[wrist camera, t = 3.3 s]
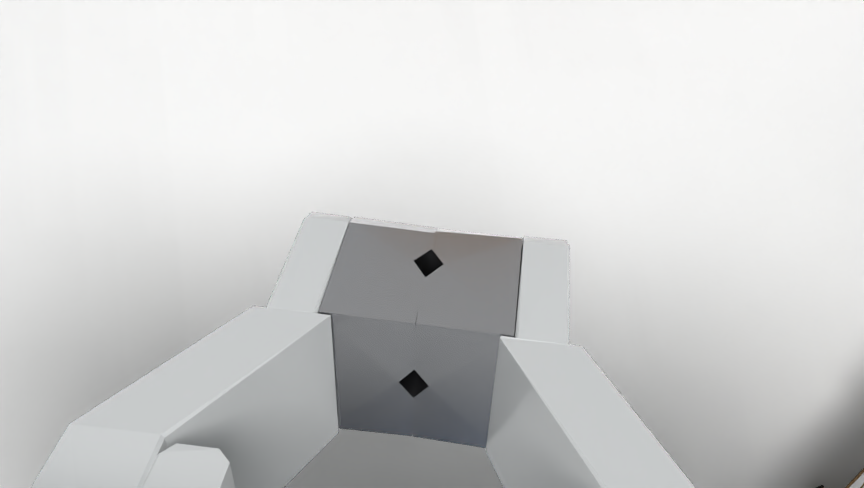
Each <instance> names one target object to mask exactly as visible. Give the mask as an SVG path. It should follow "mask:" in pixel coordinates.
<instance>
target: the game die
mask: <svg viewBox="0 0 864 488" xmlns="http://www.w3.org/2000/svg"><path fill="white" fill-rule="evenodd" d="M816 488H824V486H823V485H821V486H819V487H816ZM845 488H864V468H863V470H862V471H861V472H860V473H859V474H858V475H857V476H856V477H855V478H854V479H853V480H852V481H851V482H850V483H849V484H848V485H847V486H846V487H845Z"/></svg>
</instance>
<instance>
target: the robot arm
mask: <svg viewBox="0 0 864 488" xmlns="http://www.w3.org/2000/svg"><path fill="white" fill-rule="evenodd" d="M569 262H570V246H569V244H568V242H567V240H558V239H546V238H535V237H524V238H523V240H522V237H513V236H503V235H494V234H485V233H476V232H466V231H457V230H448V229H438V228H433V227H426V226H418V225H411V224H404V223H396V222H389V221H381V220H374V219H367V218H359V217H354V218H351V217H348V216H340V215H332V214H324V213H317V212H311V213H310V214H309V215H308V216H307V217H306V218H304V220H303V222H302V224H301V227H300V229H299V231H298V234H297V236H296V238H295V241H294V243H293V245H292V248H291V250H290V252H289V255H288V257H287V260H286V262H285V264H284V267H283V269H282V271H281V274H280V276H279V278H278V281H277V283H276V285H275V288H274V290H273V292H272V295H271V297H270V299H269V302H268V304H267V306H266V307H261V306H252V307H251V308H249V309H247V310H246V311H244V312H243V313H241V314H240V315H238V316H237V317H235V318H233V319H232V320H230V321H229V322H227V323H226V324H224V325H223V326H221V327H219V328H218V329H216V330H215V331H213V332H212V333H210V334H208V335H207V336H205V337H204V338H202V339H201V340H199V341H198V342H196V343H194V344H193V345H191V346H190V347H188V348H187V349H185V350H184V351H182V352H180V353H179V354H177V355H176V356H174V357H173V358H171V359H170V360H168V361H166V362H165V363H163V364H162V365H160V366H159V367H157V368H155V369H154V370H152V371H151V372H149V373H148V374H146V375H145V376H143V377H141V378H140V379H138V380H137V381H135V382H134V383H132V384H131V385H129V386H127V387H126V388H124V389H123V390H121V391H120V392H118V393H116V394H115V395H113V396H112V397H110V398H109V399H107V400H106V401H104V402H102V403H101V404H99V405H98V406H96V407H95V408H93V409H92V410H90V411H88V412H87V413H85V414H84V415H82V416H81V417H79V418H77V419H76V420H74V421H73V422H71V423H70V424H69V425H68V427H67V428H66V430H65V432H64V433H63V435H62V437H61V438H60V440H59V441H58V443H57V445H56V446H55V448H54V450H53V451H52V453H51V455H50V456H49V458H48V460H47V461H46V463H45V465H44V466H43V468H42V470H41V471H40V473H39V475H38V476H37V478H36V480H35V481H34V483H33V485H32V486H31V488H284V487H285V486H286V485H287V484H288V483H289V482H290V481H291V480H292V479H293V478H294V477H295V476H296V475H297V474H298V473H299V472H300V471H301V470H302V469H303V468H304V467H305V466H306V465H307V464H308V463H309V462H310V461H311V460H312V459H313V458H314V457H315V456H316V455H317V454H318V453H319V452H320V451H321V450H322V449H323V448H324V447H325V446H326V445H327V444H328V443H329V442H330V441H331V440H332V439H333V438H334V437H335V436H336V435H337V434H338V433H339V430H338V428H342V429H351V430H360V431H370V432H379V433H388V434H397V435H407V436H412V435H413V436H414V437H421V438H427V439H433V440H439V441H445V442H451V443H458V444H464V445H470V446H476V447H482V448H486V453H487V455H488V457H489V459H490V461H491V463H492V465H493V467H494V469H495V472H496V474H497V476H498V478H499V480H500V482H501V484H502V486H503V488H695V487H694V485H693V484H692V483H691V482H690V480H689V479H688V478H687V477H686V475H685V474H684V473H683V472H682V470H681V469H680V468H679V467H678V465H677V464H676V463H675V462H674V460H673V459H672V458H671V457H670V455H669V454H668V453H667V452H666V450H665V449H664V448H663V447H662V445H661V444H660V443H659V442H658V440H657V439H656V438H655V437H654V435H653V434H652V433H651V432H650V430H649V429H648V428H647V427H646V425H645V424H644V423H643V422H642V420H641V419H640V418H639V417H638V415H637V414H636V413H635V412H634V410H633V409H632V408H631V407H630V405H629V404H628V403H627V402H626V400H625V399H624V398H623V397H622V395H621V394H620V393H619V391H618V390H617V389H616V388H615V386H614V385H613V384H612V383H611V381H610V380H609V379H608V378H607V376H606V375H605V374H604V373H603V371H602V370H601V369H600V368H599V366H598V365H597V364H596V363H595V361H594V360H593V359H592V358H591V356H590V355H589V354H588V353H587V351H586V350H585V349H584V348H583V347H582V346H576V345H569Z"/></svg>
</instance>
